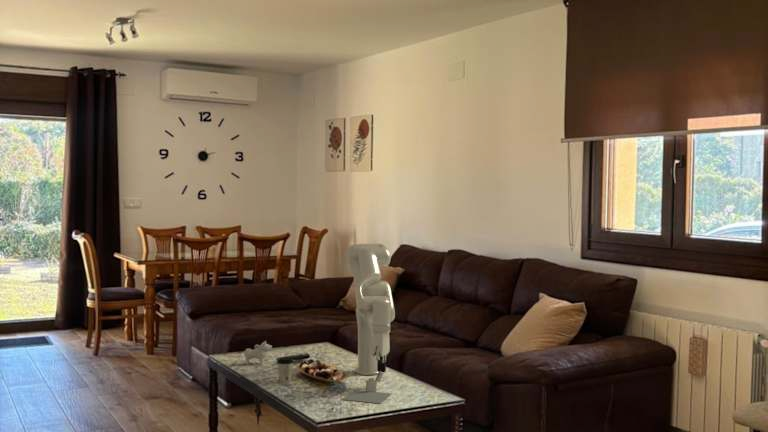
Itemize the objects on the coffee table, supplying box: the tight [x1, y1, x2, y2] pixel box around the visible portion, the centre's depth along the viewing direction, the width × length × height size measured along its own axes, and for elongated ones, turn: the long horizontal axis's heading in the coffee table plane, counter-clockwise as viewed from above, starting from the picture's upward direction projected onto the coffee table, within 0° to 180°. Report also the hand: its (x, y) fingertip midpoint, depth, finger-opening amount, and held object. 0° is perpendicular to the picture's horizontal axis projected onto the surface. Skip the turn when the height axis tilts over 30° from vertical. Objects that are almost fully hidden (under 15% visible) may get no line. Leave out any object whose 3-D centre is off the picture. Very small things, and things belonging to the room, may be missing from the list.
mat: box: [341, 389, 392, 405], centre depth 305 cm, size 14×16×1 cm
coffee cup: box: [277, 356, 294, 384], centre depth 327 cm, size 7×7×10 cm
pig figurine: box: [244, 340, 273, 366], centre depth 358 cm, size 5×13×11 cm, turn 98°
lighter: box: [365, 371, 385, 392], centre depth 314 cm, size 7×2×8 cm, turn 116°
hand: (381, 371), depth 320 cm, fingers closed
